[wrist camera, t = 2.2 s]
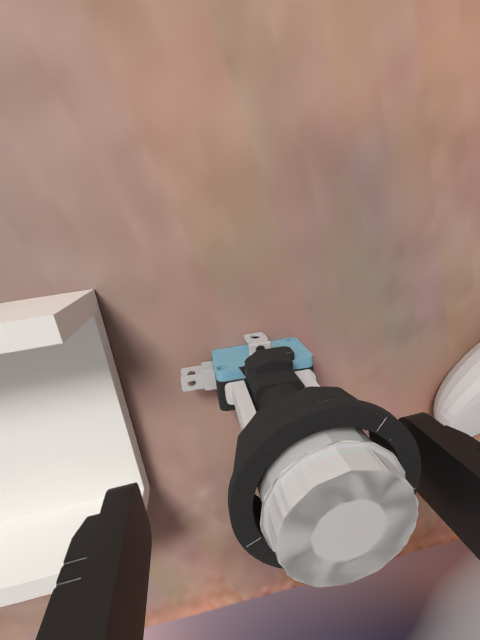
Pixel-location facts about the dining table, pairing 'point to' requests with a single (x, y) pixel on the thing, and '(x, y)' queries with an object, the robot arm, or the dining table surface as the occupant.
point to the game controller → (461, 395)
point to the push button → (311, 465)
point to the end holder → (56, 435)
